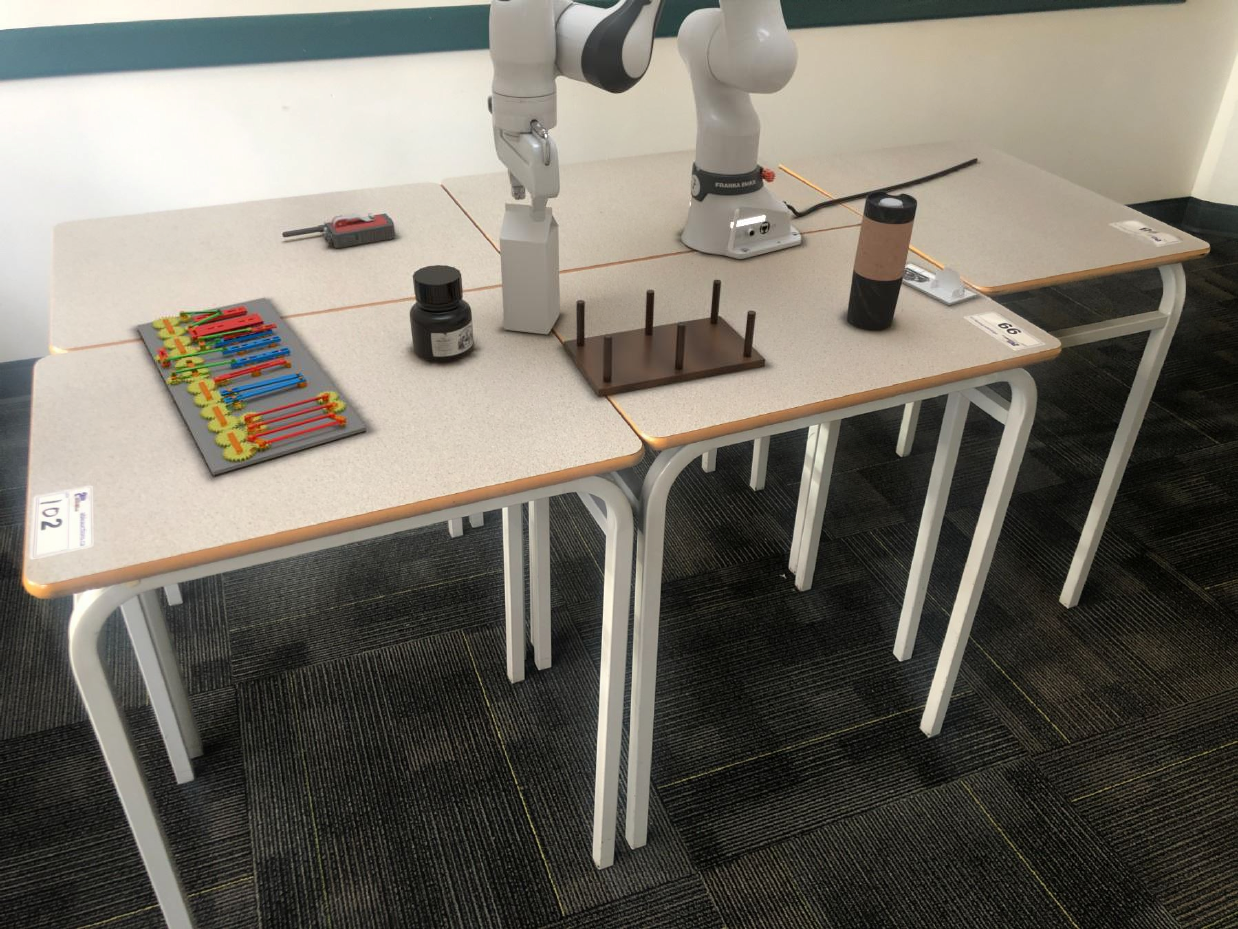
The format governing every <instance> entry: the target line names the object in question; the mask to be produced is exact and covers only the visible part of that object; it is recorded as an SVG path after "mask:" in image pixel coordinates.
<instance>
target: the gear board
mask: <svg viewBox="0 0 1238 929" xmlns="http://www.w3.org/2000/svg"><path fill="white" fill-rule="evenodd" d="M136 327H137V330H138V332H139V333H140V336H141V337H142V339H143V341H144V343H145V345H146V346H147V349H148V351H149V353H150V355H151V356H152V357H151V358H153V359H152V360H154V363H155V364H156V366H157V368H158V370H159V372H160V374H161V377H162V378H163V380H164V382H165V385H166V386H167V388H168V390H169V392H170V394H171V396H172V397H173V399H174V401H175V403H176V406H177V407H178V409H179V412H180V414H181V415H182V417H183V419H184V421H185V423H186V425H187V427H188V429H189V431H190V433H191V434H192V437H193V438H194V441H195V442H196V445H197V446H198V449H199V450H200V452H201V454H202V456H203V458H204V460H205V462H206V463H207V466H208V468H209V470H210V472H211V474H212V475H213V476H216V475H221V474H223V473H227V472H231V471H234V470H237V469H240V468H244V467H247V466H250V465H254V464H257V463H261V462H265V461H268V460H270V459H274V458H278V457H281V456H285V455H288V454H290V453H295V452H297V451H301V450H305V449H309V448H311V447H316V446H318V445H322V444H325V443H328V442H332V441H335V440H338V439H343V438H345V437H350V436H353V435H355V434H359V433H363V432H365V431H367V426H366V425H365V423H364V422H363V421H362V420H361V419H360V418H359V416H358V415H357V413H356V412H355V411H354V410H353V408H352V407H351V406H350V405H349V404H348V402H347V400H345V398H344V397H343V396H342V394H341V393H340V391H338V389H337V388H336V387H335V386H334V385H333V383H332V382H331V381H330V379H329V378H328V377H327V376H326V374H325V373H324V372H323V370H322V369H321V368H320V367H319V365H318V364H317V363H316V361H315V360H314V359H313V358H312V356H311V355H310V353H309V352H308V351H307V350H306V348H304V346H303V345H302V343H301V342H300V341H299V339H298V338H297V337H296V336H295V335H294V334H293V332H292V331H291V329H290V328H289V327H288V325H287V324H286V323H285V322H284V321H283V319H282V317H280V315H279V314H278V313H277V311H276V310H275V309H274V307H272V305H271V304H270V302H269V301H268V300H267V299H266V297H261V298H257V299H252V300H248V301H244V302H239V303H234V304H229V305H225V306H221V307H216V308H212V309H206V310H192V311H184V310H180V311H179V313H178V316H170V315H169V316H165V317H159V318H157V319H155V320H153V321H151V322H147V323H143V324H137V325H136Z"/></svg>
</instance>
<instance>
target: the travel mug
mask: <svg viewBox="0 0 1238 929" xmlns="http://www.w3.org/2000/svg"><path fill="white" fill-rule="evenodd" d="M865 197H866V198H865V201H864V207H863V213H862V218H861V224H860V230H859V235H858V241H857V246H856V252H855V258H854V263H853V268H852V275H851V284H850V290H849V291H850V292H849V298H848V304H847V305H848V306H847V312H846V313H847V314H846V320H847V322H848V323H849V324H850V325H851V326H852V327H854V328H856V329H860V330H863V331H869V332H880V331H884V330H885V331H886V330H887V329H889V328H890V327H892V324H893V320H894V317H895V314H896V308H897V305H898V300H899V296H900V292H901V287H902V284H903V282H902V280H903V275H904V271H905V265H906V264H907V259H908V256H909V255H908V254H909V249H910V244H911V238H912V234H913V228H914V224H915V218H916V213H917V209H918V200H917V199H916V198H915V197H914V196H912V195H911V194H908V193H900V194H897V195H896V194H889V193H888V192H887V191H876V192H872V193H870V194H868V195H867V196H865Z"/></svg>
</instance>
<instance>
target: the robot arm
mask: <svg viewBox="0 0 1238 929" xmlns="http://www.w3.org/2000/svg"><path fill="white" fill-rule="evenodd" d="M665 2H666V0H618V2H617V3H616V4H615V5H613V6H611V7H608V8H603V7H597V6H593V5H588V4H585V3H582V2H581V3H580V2H576V1H574V0H491V2H490V9H489V20H488V31H489V32H488V39H489V40H488V41H489V42H488V43H489V56H490V57H489V58H490V60H491V64H492V68H493V78H492V82H491V95H487V110H488V112H489V113H490V114H491V123H492V133H493V140H494V148H495V152H496V156H497V158H498V160H499V161H500V162H501V164H503V165H504V166H505V168H507V175H508V180H509V184H510V193H511V197H512V198H513V199H515V200H516V201H520V200H525V199H526V190H527V192H528V193H529V194H530V199H531V207H530V217H531V219H532V220H533V221H534V222H542V221H544V219H545V207H547V204H548V200H550V199H556V198H557V197H558V196H559V194H560V190H561V182H560V181H561V180H560V165H559V163H560V162H559V153H558V152H559V151H558V147H557V144H556V142H555V140H554V139H553V138H552V137H551V136H550V135H549V130H552V129H554V128H556V126H557V125H558V97H557V96H558V92H557V90H558V88H557V83H556V80H557V77H565V78H567V79H569V80H573V81H577V82H580V83H581V82H582V83H585V84H588V85H591V86H593V87H595V88H598V89H601V90H603V91H605V92H609V93H611V94H617V95H619V94H622V93H625V92H627V91H630V90H631V89H632V88H633V87H635V86H636V85H637V84H638V83H639V82H640V81H641V80H642V79H643V78H644V76H645V75H646V73H647V71H648V69H649V67H650V65H651V61H652V57H653V51H654V45H655V44H654V43H655V38H656V32H657V28H658V25H659V22H660V18H661V16H662V13H663V9H664V6H665ZM718 4H719V7H708V8H699V9H696V10H694V11H692V12H691V13H689V14H688V15H686V17H685V18H684V20H683V21H682V23H681V25H680V27H679V29H678V33H677V39H676V45H677V51H678V54H679V56H680V58H681V60H682V61H683V63H684V65H685V68H686V70H687V73H688V76H689V81H690V85H691V90H692V95H693V101H694V106H695V107H694V108H695V115H696V135H695V136H696V137H695V155H694V156H695V157H694V161H693V163H692V167H691V178H690V196H691V198H690V202H689V209H688V213H687V217H686V218H687V219H686V222H685V226H684V228H683V231H682V234H681V237H680V238H681V241H682V243H683V244H684V245H686V246H687V247H689V248H690V249H693V250H695V251H698V252H702V253H705V254H712V255H718V256H719V255H720V256H726V257H729V258H733V259H738V260H744V259H748V258H752V257H755V256H759V255H764V254H767V253H771V252H776V251H779V250H783V249H787V248H791V247H795V246H799V245H801V244H802V235H801V233H800V232H799V230H797V228H795V226H793V225H792V224H791V213H790V211H791V212H792V214H793V215H794V216H796V217H804V216H806V215H809V214H810V213H812V212H814V211H816V210H817V209H819V208H822V207H826V206H829V205H833V204H837V203H843V202H847V201H851V200H854V199H859V198H864V197H867V195H868V194H870V193H872V192H876V191H885V192H889V191H892V190H897V189H901V188H904V187H908V186H911V185H915V184H918V183H921V182H924V181H928V180H931V179H934V178H937V177H939V176H943V175H946V174H948V173H950V172H951V173H952V172H953V171H957V170H958V169H961V168H964V167H966V166H968V165H971V164H974V163H976V162H978V160H979V159H978V158H977V157H975V158H973V159H970V160H968V161H965V162H962V163H960V164H957V165H955V166H952V167H949V168H947V169H944V170H941V171H939V172H936V173H932V174H930V175H926V176H923V177H920V178H917V179H913V180H910V181H906V182H902V183H898V184H894V185H890V186H886V187H882V188H878V189H873V190H870V191H866V192H861V193H856V194H853V195H848V196H844V197H840V198H836V199H830V200H826V201H822V202H820V203H817V204H815V205H813V206H811V207H810V208H808V209H807V210H804V211H802V212H801V211H797V210H796V209H795V207H794V206H792V205H791V204H788V203H787V201H785V200H782V199H781V198H780V197H779V196H777V194H775V193H774V192H773V191H772V190H770V189H769V188H768V187H767V186H766V185H765V184H764V180H765V182H767V183H773V182H774V180H775V179H776V175H777V174H776V173H775V171H773V170H771V169H770V168H765V167H763V166H762V165H761V164H758V155H759V146H760V137H761V120H760V117H759V115H758V113H757V111H756V110H755V107H754V105H753V102H752V99H751V94H756V95H757V94H758V95H770V94H775V93H777V92H779V91H781V90H782V89H784V88H785V87H786V86H787V85H788V84H789V83H790V81H791V80H792V78H793V76H794V74H795V72H796V69H797V65H798V59H799V58H798V56H799V55H798V49H797V44H796V42H795V40H794V38H793V36H791V34H790V32H789V30H788V28H787V25H786V23H785V18H784V14H783V9H782V6H781V0H718Z"/></svg>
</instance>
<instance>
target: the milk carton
mask: <svg viewBox="0 0 1238 929" xmlns="http://www.w3.org/2000/svg"><path fill="white" fill-rule="evenodd" d="M531 205H532V204H531ZM531 205H529V204H520V203H517V204H516V203H510V202H506V203H504V215H503V218H502V219H503V220H502V224H501V228H500V233H499V237H498V238H499V255H500V273H501V288H502V290H501V291H502V309H503V310H502V312H503V329H504V330H505V331H506V330H507V331H512V332H513V331H514V332H522V333H532V334H539V335H549V334H550V332H551V331H552V329H553V327H554V325H555V323H556V322H557V321H558V318H559V317H560V315H561V304H560V303H561V300H560V299H561V296H560V292H561V290H560V238H559V235H560V234H559V231H560V230H559V224H558V222H557V220H556V218H555V217H554V215H553V207H551V206H546V207H545V219H544V221H542V222H534V221H533V220H532V219H531V217H530V207H531Z"/></svg>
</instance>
